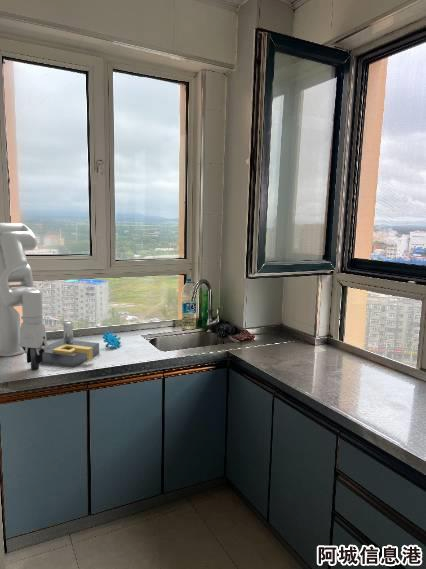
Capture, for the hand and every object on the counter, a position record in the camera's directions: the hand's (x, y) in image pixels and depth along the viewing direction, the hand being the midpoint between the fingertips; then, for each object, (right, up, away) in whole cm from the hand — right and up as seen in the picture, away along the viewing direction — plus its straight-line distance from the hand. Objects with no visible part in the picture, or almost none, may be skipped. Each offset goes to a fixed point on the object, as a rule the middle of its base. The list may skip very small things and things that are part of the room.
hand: (34, 362), depth 179 cm
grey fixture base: (+9, -1, +15) cm, 18 cm away
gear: (+25, +1, +32) cm, 41 cm away
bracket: (+14, 0, +10) cm, 17 cm away
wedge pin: (0, -3, 0) cm, 3 cm away
